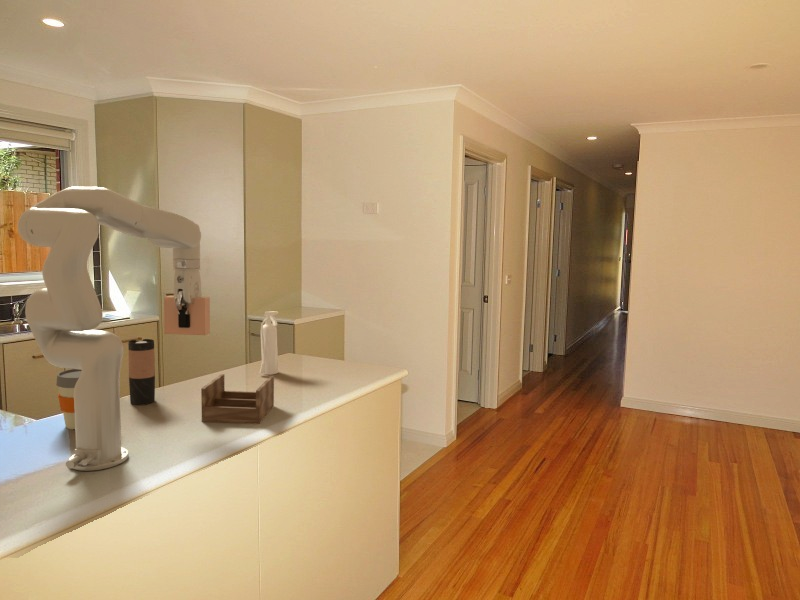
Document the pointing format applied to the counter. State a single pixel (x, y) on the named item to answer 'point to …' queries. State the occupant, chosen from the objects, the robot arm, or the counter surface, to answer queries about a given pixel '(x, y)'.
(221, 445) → the counter surface
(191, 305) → the peach rectangular block
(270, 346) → the white spray bottle
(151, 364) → the travel mug
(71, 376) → the reusable coffee cup
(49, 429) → the counter surface
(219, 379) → the wooden crate
